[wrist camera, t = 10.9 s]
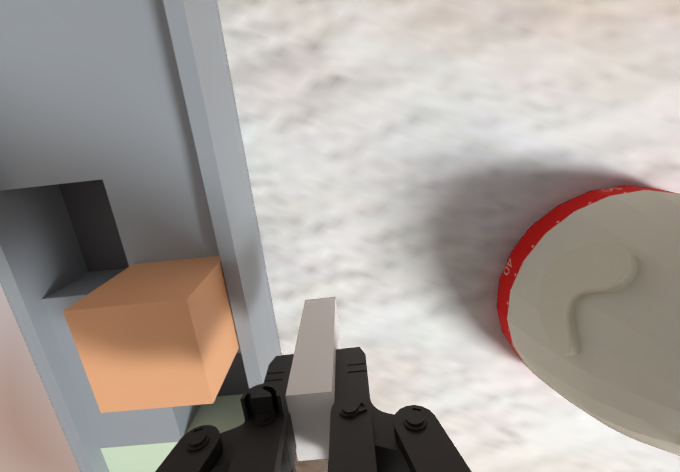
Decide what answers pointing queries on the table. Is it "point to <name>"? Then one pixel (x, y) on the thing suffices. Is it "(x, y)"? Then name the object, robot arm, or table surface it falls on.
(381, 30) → the table surface
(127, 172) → the box
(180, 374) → the block
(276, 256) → the table surface
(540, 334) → the kitchen timer
